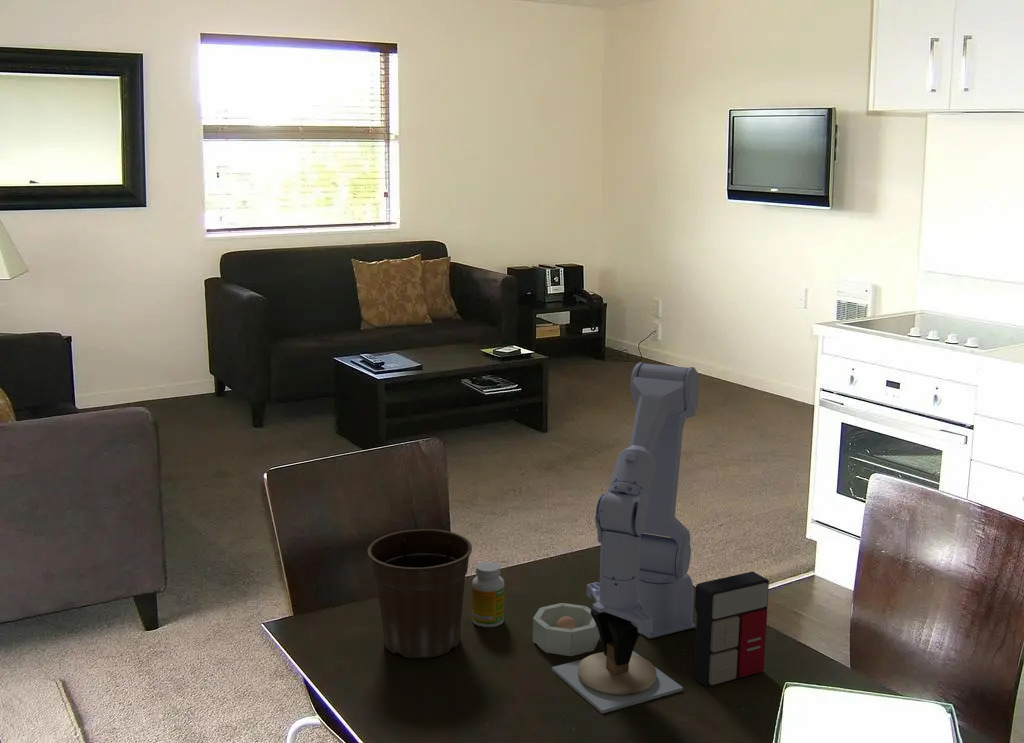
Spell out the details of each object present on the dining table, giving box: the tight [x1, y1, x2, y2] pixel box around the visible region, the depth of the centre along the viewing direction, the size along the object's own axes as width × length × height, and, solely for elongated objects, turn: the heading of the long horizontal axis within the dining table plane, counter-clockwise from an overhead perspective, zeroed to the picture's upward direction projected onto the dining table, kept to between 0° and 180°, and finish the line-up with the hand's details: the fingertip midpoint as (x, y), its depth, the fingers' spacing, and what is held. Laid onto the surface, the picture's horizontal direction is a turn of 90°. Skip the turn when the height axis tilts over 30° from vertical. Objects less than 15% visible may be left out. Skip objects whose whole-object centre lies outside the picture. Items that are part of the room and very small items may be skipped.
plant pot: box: [367, 528, 473, 659], centre depth 164 cm, size 16×16×16 cm
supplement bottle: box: [471, 561, 505, 628], centre depth 173 cm, size 5×5×10 cm
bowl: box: [532, 602, 600, 657], centre depth 167 cm, size 10×10×4 cm
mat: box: [551, 650, 684, 715], centre depth 155 cm, size 14×14×1 cm
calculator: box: [693, 571, 770, 688], centre depth 155 cm, size 11×4×15 cm, turn 117°
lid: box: [578, 642, 657, 695], centre depth 154 cm, size 12×12×5 cm
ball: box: [556, 616, 576, 629], centre depth 167 cm, size 3×3×3 cm
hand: (616, 658), depth 154 cm, fingers closed on lid, 2 cm apart
